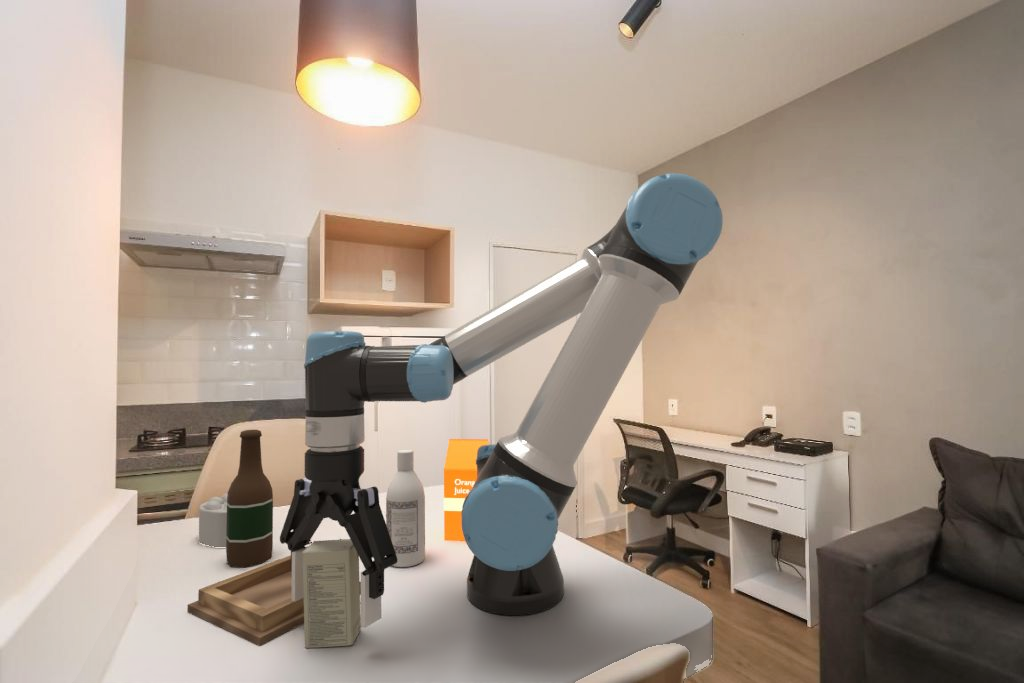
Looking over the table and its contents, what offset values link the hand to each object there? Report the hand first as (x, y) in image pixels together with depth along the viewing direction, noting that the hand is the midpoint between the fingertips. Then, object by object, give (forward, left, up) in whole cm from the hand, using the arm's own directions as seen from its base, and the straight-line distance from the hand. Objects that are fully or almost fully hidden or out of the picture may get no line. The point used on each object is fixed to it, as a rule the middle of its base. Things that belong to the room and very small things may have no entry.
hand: (334, 609), depth 65 cm
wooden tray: (+16, -3, -4) cm, 17 cm away
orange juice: (+8, -41, -4) cm, 42 cm away
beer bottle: (+36, -10, -4) cm, 38 cm away
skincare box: (0, 0, -4) cm, 4 cm away
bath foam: (+10, -24, -4) cm, 26 cm away
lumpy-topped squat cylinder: (+52, -15, -4) cm, 54 cm away
